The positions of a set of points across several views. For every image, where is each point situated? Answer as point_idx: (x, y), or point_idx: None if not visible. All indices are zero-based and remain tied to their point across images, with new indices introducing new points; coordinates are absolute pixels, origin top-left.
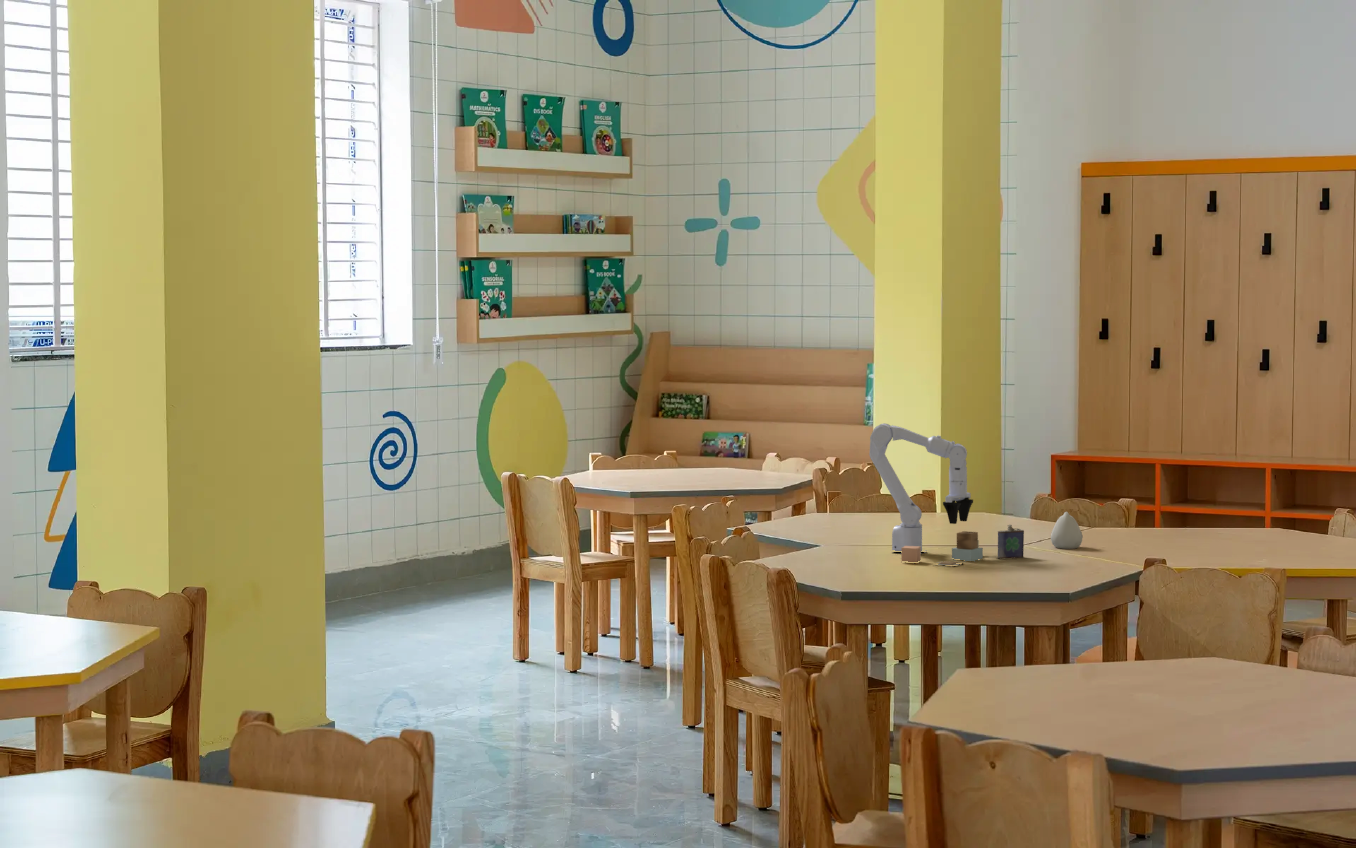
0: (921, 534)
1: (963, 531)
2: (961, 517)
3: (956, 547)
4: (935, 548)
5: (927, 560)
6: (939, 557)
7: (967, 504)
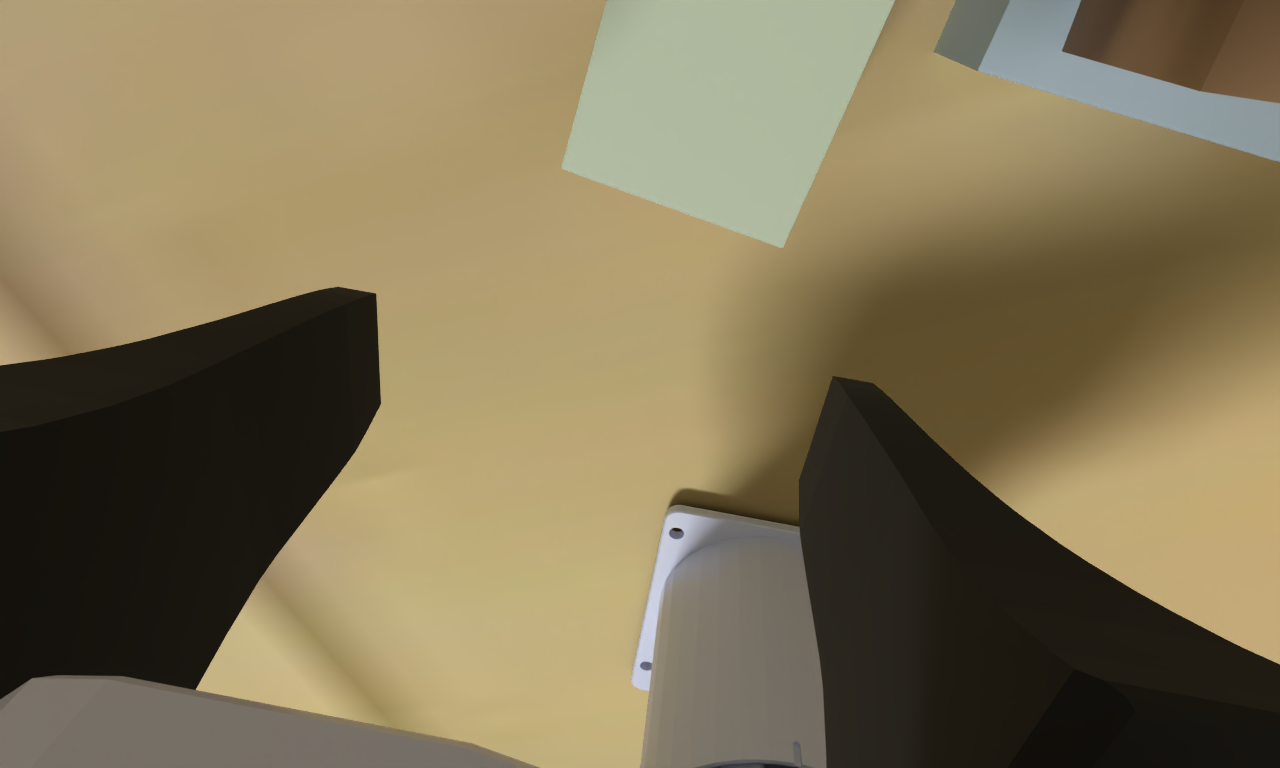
0: (771, 676)
1: (1250, 74)
2: (344, 421)
3: (1179, 131)
4: (391, 492)
5: (1263, 378)
6: (991, 322)
7: (59, 498)
